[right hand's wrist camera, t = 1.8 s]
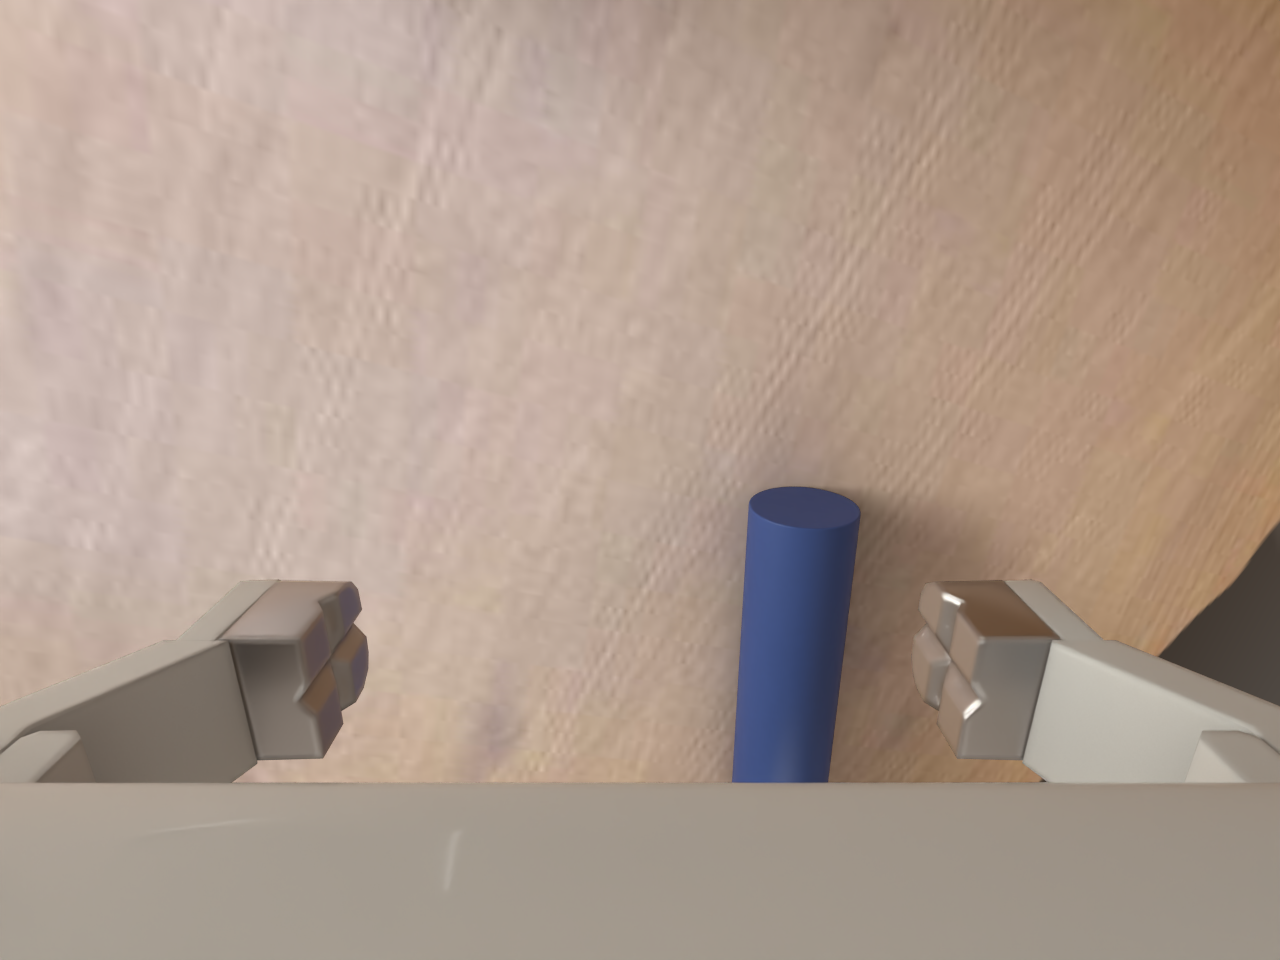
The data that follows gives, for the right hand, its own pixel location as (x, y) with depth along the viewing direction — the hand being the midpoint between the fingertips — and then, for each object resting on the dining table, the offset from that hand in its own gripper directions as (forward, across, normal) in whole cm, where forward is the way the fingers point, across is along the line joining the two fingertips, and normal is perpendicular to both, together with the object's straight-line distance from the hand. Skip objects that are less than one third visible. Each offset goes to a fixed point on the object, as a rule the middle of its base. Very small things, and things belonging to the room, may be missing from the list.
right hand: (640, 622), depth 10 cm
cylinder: (+31, -9, +22) cm, 39 cm away
